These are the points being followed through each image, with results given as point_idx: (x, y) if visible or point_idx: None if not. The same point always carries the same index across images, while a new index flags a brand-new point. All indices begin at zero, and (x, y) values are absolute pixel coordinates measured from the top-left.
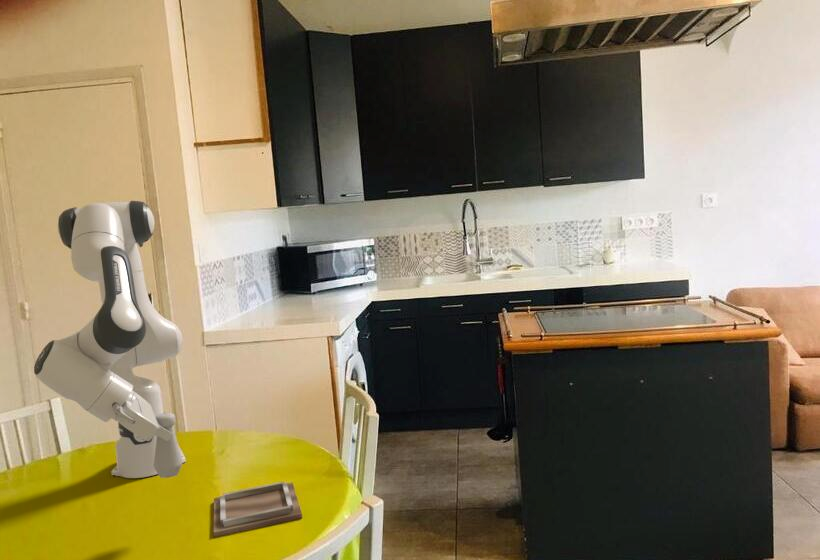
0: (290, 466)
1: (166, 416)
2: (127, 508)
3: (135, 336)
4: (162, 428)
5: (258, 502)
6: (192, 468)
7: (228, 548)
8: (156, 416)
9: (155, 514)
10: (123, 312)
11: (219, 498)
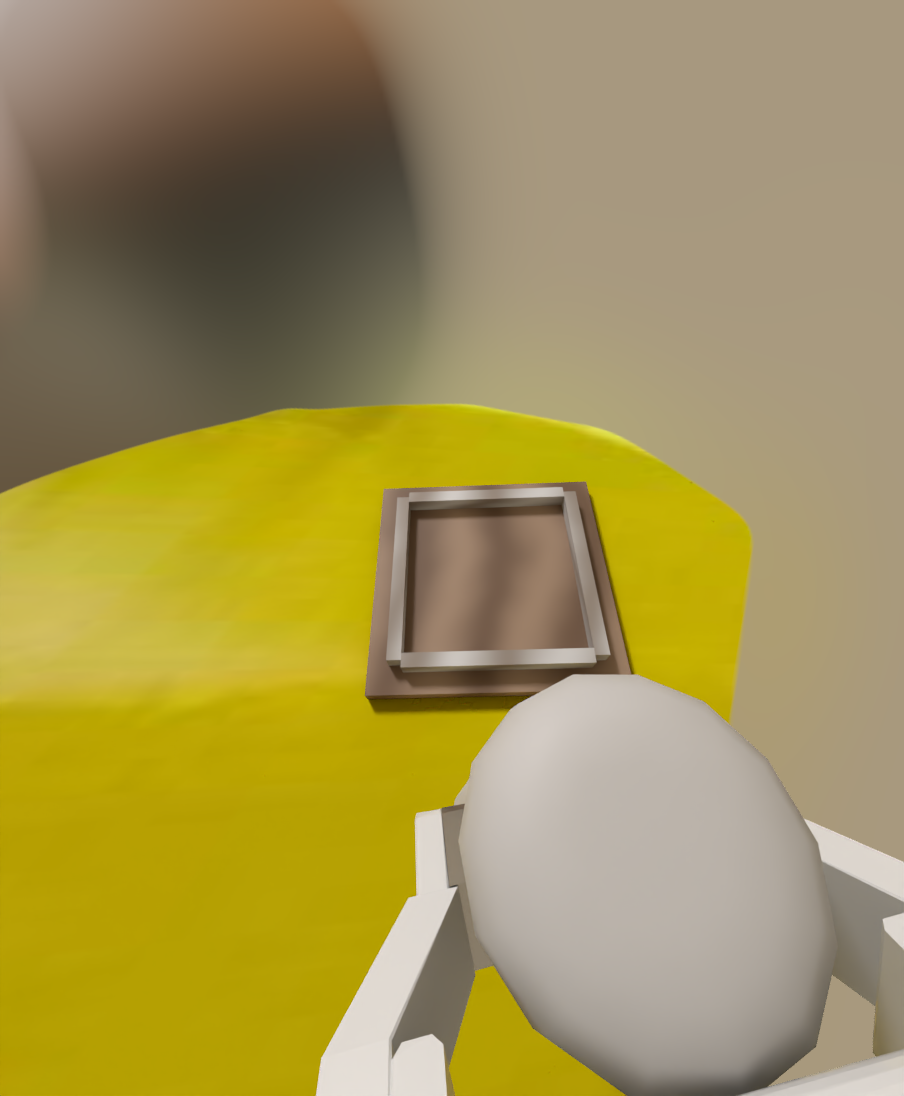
0: (245, 494)
1: (759, 783)
2: None
3: None
4: (885, 857)
5: (472, 567)
6: None
7: (709, 652)
8: (742, 1042)
9: (346, 948)
10: None
11: (378, 677)
